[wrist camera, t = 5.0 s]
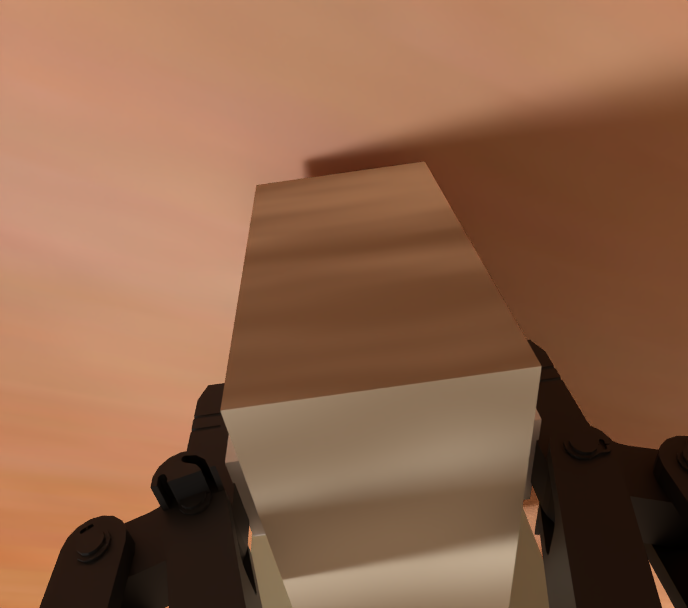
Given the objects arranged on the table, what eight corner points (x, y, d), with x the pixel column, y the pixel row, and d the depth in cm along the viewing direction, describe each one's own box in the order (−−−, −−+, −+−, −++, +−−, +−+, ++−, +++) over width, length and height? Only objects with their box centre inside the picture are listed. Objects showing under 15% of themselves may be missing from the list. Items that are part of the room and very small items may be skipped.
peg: (256, 185, 15) (220, 410, 8) (424, 161, 15) (541, 366, 8) (323, 478, 24) (335, 724, 16) (433, 463, 23) (495, 702, 16)
